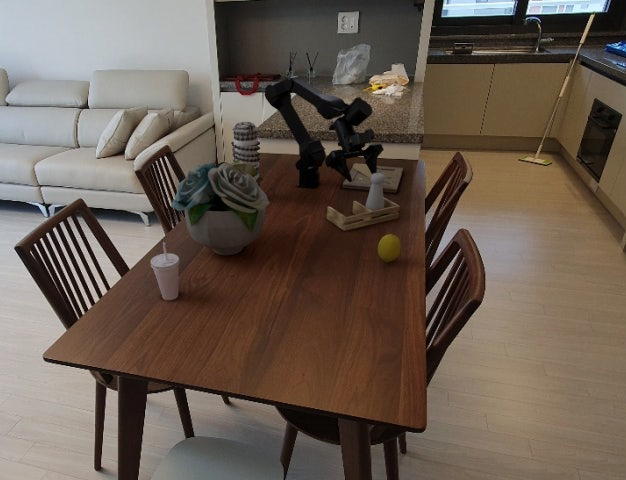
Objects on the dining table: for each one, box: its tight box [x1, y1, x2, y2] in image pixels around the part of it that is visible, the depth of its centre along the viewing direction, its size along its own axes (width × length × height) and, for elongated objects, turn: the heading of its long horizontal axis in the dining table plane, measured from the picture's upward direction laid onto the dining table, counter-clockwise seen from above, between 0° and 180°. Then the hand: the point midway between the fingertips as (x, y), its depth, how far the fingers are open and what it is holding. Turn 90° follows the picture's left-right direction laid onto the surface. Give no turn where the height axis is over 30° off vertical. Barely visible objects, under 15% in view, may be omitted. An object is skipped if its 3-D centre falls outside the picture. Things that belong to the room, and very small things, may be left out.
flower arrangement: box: [170, 160, 271, 256], centre depth 120 cm, size 25×25×24 cm
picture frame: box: [342, 162, 404, 194], centre depth 169 cm, size 19×2×24 cm
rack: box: [326, 196, 401, 232], centre depth 140 cm, size 10×20×4 cm, turn 114°
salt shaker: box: [364, 173, 385, 218], centre depth 140 cm, size 6×6×13 cm
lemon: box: [377, 233, 402, 263], centre depth 116 cm, size 6×6×8 cm
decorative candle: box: [230, 121, 261, 189], centre depth 150 cm, size 9×9×25 cm
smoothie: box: [150, 242, 181, 301], centre depth 104 cm, size 6×6×14 cm
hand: (363, 179), depth 143 cm, fingers open, 9 cm apart
